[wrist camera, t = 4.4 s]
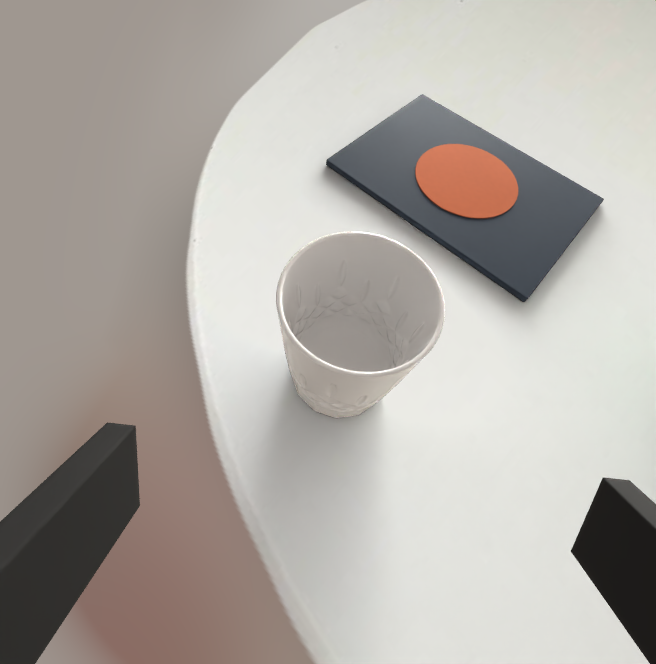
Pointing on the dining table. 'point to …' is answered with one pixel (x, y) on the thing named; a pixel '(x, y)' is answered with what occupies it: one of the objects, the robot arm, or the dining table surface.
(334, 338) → the white cup
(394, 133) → the place mat
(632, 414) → the dining table surface
